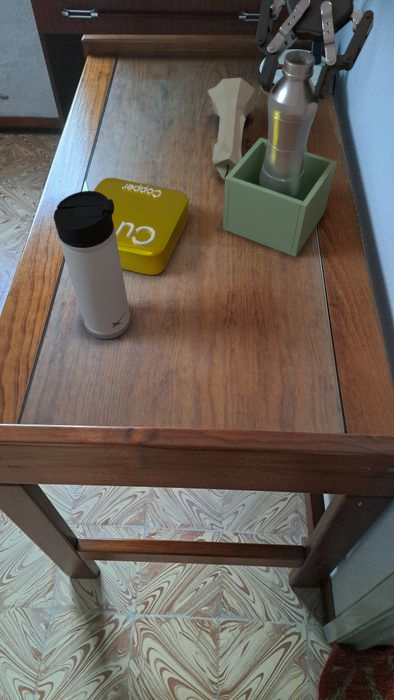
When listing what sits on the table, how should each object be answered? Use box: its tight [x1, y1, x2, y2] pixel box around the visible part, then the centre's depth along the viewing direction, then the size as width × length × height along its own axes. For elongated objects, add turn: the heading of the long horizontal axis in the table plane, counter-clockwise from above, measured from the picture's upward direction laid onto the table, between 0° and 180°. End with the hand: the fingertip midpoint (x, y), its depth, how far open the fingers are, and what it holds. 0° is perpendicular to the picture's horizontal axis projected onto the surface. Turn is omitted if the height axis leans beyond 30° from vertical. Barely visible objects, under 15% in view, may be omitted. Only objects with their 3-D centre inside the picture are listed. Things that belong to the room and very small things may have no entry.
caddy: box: [222, 137, 338, 258], centre depth 78 cm, size 13×12×10 cm
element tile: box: [93, 177, 190, 276], centre depth 78 cm, size 15×15×5 cm
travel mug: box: [53, 190, 131, 340], centre depth 62 cm, size 6×7×20 cm
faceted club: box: [207, 77, 256, 180], centre depth 90 cm, size 9×8×25 cm
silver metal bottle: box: [259, 49, 319, 198], centre depth 69 cm, size 6×7×20 cm
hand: (290, 94), depth 63 cm, fingers closed on silver metal bottle, 6 cm apart
